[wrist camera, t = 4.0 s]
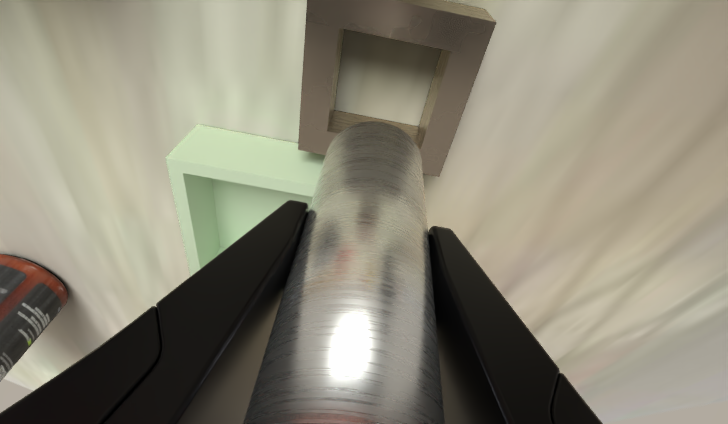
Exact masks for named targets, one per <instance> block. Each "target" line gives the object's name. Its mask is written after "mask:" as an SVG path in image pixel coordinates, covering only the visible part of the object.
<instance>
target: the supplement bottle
mask: <svg viewBox="0 0 728 424" xmlns="http://www.w3.org/2000/svg"><path fill="white" fill-rule="evenodd" d="M67 299H68V293H67V290H66V288H65V287H64V285H63V284H62V282H60V281H59V280H58V279H57V278H56V277H55V276H54V275H53V274H52V273H50V272H48V271H47V270H46V269H44V268H42V267H41V266H39V265H37V264H35V263H33V262H31V261H29V260H26V259H22V258H18V257H14V256H10V255H4V254H0V382H1V380H2V379H3V378H4V377H5V376H6V375H7V373H8V372H9V371H10V370H11V369H12V367H13V366H14V365H15V364H16V363H17V361H18V360H19V359H20V358H21V357H22V356H23V354H24V353H25V352H26V351H27V349H28V348H29V347H30V346H31V345H32V344H33V342H34V341H35V340H36V339H37V338H38V336H39V335H40V334H41V333H42V332H43V331H44V329H45V328H46V327H47V326H48V325H49V323H50V322H51V321H52V320H53V319H54V317H55V316H56V315H57V314H58V313H59V312H60V310H61V309H62V307H63V306H64V305H65V304H66V302H67Z"/></svg>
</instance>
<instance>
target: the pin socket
mask: <svg viewBox="0 0 728 424" xmlns="http://www.w3.org/2000/svg"><path fill="white" fill-rule="evenodd" d="M495 25H496V21H495V20H494V19H493V18H492V17H491V15H490V14H489V13H488V12H487V11H486V10H485V9H481V8H477V7H472V6H467V5H463V4H458V3H453V2H449V1H444V0H307V12H306V29H305V45H304V61H303V77H302V93H301V110H300V126H299V142H298V150H301V151H306V152H311V153H317V154H322V155H326V152H327V150H328V147H329V145H330V143H331V141H332V140H333V139H334V137H335V136H336V135H337V134H338V133H340V132H341V131H342V130H344V129H345V128H347V127H349V126H351V125H354V124H357V123H361V122H368V121H377V122H384V123H388V124H391V125H393V126H396V127H398V128H399V129H401V130H403V131H404V132H405V133H407V134H408V135H409V136H410V137H411V138H412V139H413V141H414V142H415V143H416V145H417V147H418V149H419V151H420V154H421V159H422V170H423V174H427V175H433V176H438V177H439V176H440V173H441V170H442V168H443V165H444V162H445V159H446V157H447V154H448V151H449V149H450V146H451V143H452V141H453V138H454V135H455V133H456V130H457V127H458V124H459V122H460V119H461V116H462V114H463V111H464V108H465V106H466V103H467V100H468V97H469V95H470V92H471V89H472V87H473V84H474V81H475V79H476V76H477V73H478V70H479V68H480V65H481V62H482V60H483V57H484V54H485V52H486V49H487V46H488V44H489V41H490V38H491V35H492V33H493V30H494V27H495ZM344 29H347V30H352V31H356V32H361V33H366V34H371V35H376V36H380V37H385V38H390V39H395V40H400V41H405V42H409V43H414V44H419V45H424V46H429V47H433V48H438V49H442V50H441V53H440V56H439V60H438V63H437V67H436V70H435V73H434V77H433V80H432V84H431V87H430V90H429V94H428V97H427V100H426V104H425V107H424V111H423V114H422V117H421V121H420V124H419V127H418V126H413V125H407V124H402V123H397V122H392V121H387V120H382V119H377V118H372V117H367V116H362V115H357V114H351V113H346V112H341V111H336V110H334V108H335V100H336V92H337V84H338V76H339V68H340V60H341V52H342V44H343V36H344Z"/></svg>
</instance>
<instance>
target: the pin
mask: <svg viewBox="0 0 728 424" xmlns="http://www.w3.org/2000/svg"><path fill="white" fill-rule="evenodd" d="M243 424H445V420H444V409H443V397H442V386H441V374H440V363H439V352H438V340H437V329H436V317H435V306H434V295H433V283H432V272H431V261H430V249H429V238H428V226H427V215H426V204H425V192H424V181H423V170H422V159H421V154H420V151H419V149H418V147H417V145H416V143H415V142H414V141H413V139H412V138H411V137H410V136H409V135H408V134H407V133H405V132H404V131H403V130H401V129H399V128H398V127H396V126H393V125H391V124H388V123H384V122H377V121H368V122H361V123H357V124H354V125H351V126H349V127H347V128H345V129H344V130H342V131H341V132H340V133H338V134H337V135H336V136H335V137H334V139H333V140H332V141H331V143H330V145H329V147H328V150H327V152H326V156H325V159H324V162H323V165H322V169H321V172H320V175H319V178H318V182H317V185H316V188H315V191H314V194H313V198H312V201H311V204H310V207H309V211H308V215H307V218H306V221H305V224H304V228H303V231H302V234H301V237H300V241H299V244H298V247H297V250H296V254H295V257H294V260H293V263H292V266H291V269H290V272H289V276H288V279H287V282H286V285H285V289H284V292H283V295H282V298H281V302H280V305H279V308H278V311H277V314H276V318H275V321H274V324H273V327H272V331H271V334H270V337H269V340H268V344H267V347H266V350H265V353H264V357H263V360H262V363H261V366H260V370H259V373H258V376H257V379H256V383H255V386H254V389H253V392H252V396H251V399H250V402H249V405H248V409H247V412H246V415H245V418H244V422H243Z"/></svg>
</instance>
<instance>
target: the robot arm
mask: <svg viewBox="0 0 728 424" xmlns="http://www.w3.org/2000/svg"><path fill="white" fill-rule="evenodd" d="M307 215H308V204H307V203H305V202H300V201H294V200H288V201H287V202H285V203H284V204H283V205H281V206H280V207H279V208H278V209H276V210H275V211H274V212H272V213H271V214H270V215H269V216H267V217H266V218H265V219H264V220H262V221H261V222H260V223H258V224H257V225H256V226H255V227H253V228H252V229H251V230H249V231H248V232H247V233H246V234H244V235H243V236H242V237H241V238H239V239H238V240H237V241H235V242H234V243H233V244H232V245H230V246H229V247H228V248H227V249H225V250H224V251H223V252H221V253H220V254H219V255H218V256H216V257H215V258H214V259H212V260H211V261H210V262H209V263H207V264H206V265H205V266H204V267H202V268H201V269H200V270H198V271H197V272H196V273H195V274H193V275H192V276H191V277H189V278H188V279H187V280H186V281H184V282H183V283H182V284H181V285H179V286H178V287H177V288H175V289H174V290H173V291H172V292H170V293H169V294H168V295H167V296H165V297H164V298H163V299H161V300H160V301H159V302H158V303H157V304H156V306H157V308H156V307H155V306H153V307H151V308H150V309H148V310H147V311H146V312H144V313H143V314H142V315H141V316H139V317H138V318H137V319H136V320H134V321H133V322H132V323H130V324H129V325H128V326H126V327H125V328H124V329H122V330H121V331H120V332H118V333H117V334H116V335H114V336H113V337H112V338H110V339H109V340H108V341H106V342H105V343H104V344H102V345H101V346H100V347H98V348H97V349H95V350H94V351H92V352H91V353H89V354H88V355H86V356H85V357H84V358H82V359H81V360H79V361H78V362H76V363H75V364H73V365H72V366H70V367H69V368H67V369H66V370H65V371H63V372H62V373H60V374H59V375H57V376H56V377H54V378H53V379H51V380H50V381H48V382H47V383H45V384H44V385H42V386H41V387H39V388H38V389H36V390H35V391H33V392H31V393H30V394H28V395H27V396H25V397H24V398H22V399H21V400H19V401H18V402H16V403H15V404H13V405H12V406H10V407H9V408H7V409H6V410H4V411H3V412H1V413H0V424H243V422H244V418H245V415H246V412H247V409H248V405H249V402H250V399H251V396H252V392H253V389H254V386H255V383H256V379H257V376H258V373H259V370H260V366H261V363H262V360H263V357H264V353H265V350H266V347H267V344H268V340H269V337H270V334H271V331H272V327H273V324H274V321H275V318H276V314H277V311H278V308H279V305H280V302H281V298H282V295H283V292H284V289H285V285H286V282H287V279H288V276H289V272H290V269H291V266H292V263H293V260H294V257H295V254H296V250H297V247H298V244H299V241H300V237H301V234H302V231H303V228H304V224H305V221H306V218H307ZM428 238H429V249H430V261H431V272H432V283H433V295H434V306H435V317H436V329H437V340H438V352H439V363H440V374H441V386H442V397H443V409H444V420H445V424H602V422H601V421H600V420H599V419H598V417H597V416H596V415H595V414H594V412H593V411H592V410H591V409H590V407H589V406H588V405H587V404H586V402H585V401H584V400H583V399H582V397H581V396H580V395H579V394H578V392H577V391H576V390H575V388H574V387H573V386H572V385H571V383H570V382H569V381H568V379H567V378H566V377H565V376H564V374H562V373H559V368H558V367H557V365H556V364H555V363H554V362H553V360H552V359H551V358H550V356H549V355H548V354H547V353H546V351H545V350H544V349H543V347H542V346H541V345H540V344H539V342H538V341H537V340H536V338H535V337H534V336H533V334H532V333H531V332H530V331H529V329H528V328H527V327H526V325H525V324H524V323H523V322H522V320H521V319H520V318H519V316H518V315H517V314H516V312H515V311H514V310H513V309H512V307H511V306H510V305H509V303H508V302H507V301H506V300H505V298H504V297H503V296H502V294H501V293H500V292H499V291H498V289H497V288H496V287H495V285H494V284H493V283H492V281H491V280H490V279H489V278H488V276H487V275H486V274H485V272H484V271H483V270H482V269H481V267H480V266H479V265H478V263H477V262H476V261H475V259H474V258H473V257H472V256H471V254H470V253H469V252H468V250H467V249H466V248H465V247H464V245H463V244H462V243H461V241H460V240H459V239H458V238H457V236H456V235H455V234H454V232H453V231H452V230H451V229H448V228H443V227H438V226H433V227H431V228H430V230H429V232H428Z"/></svg>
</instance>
